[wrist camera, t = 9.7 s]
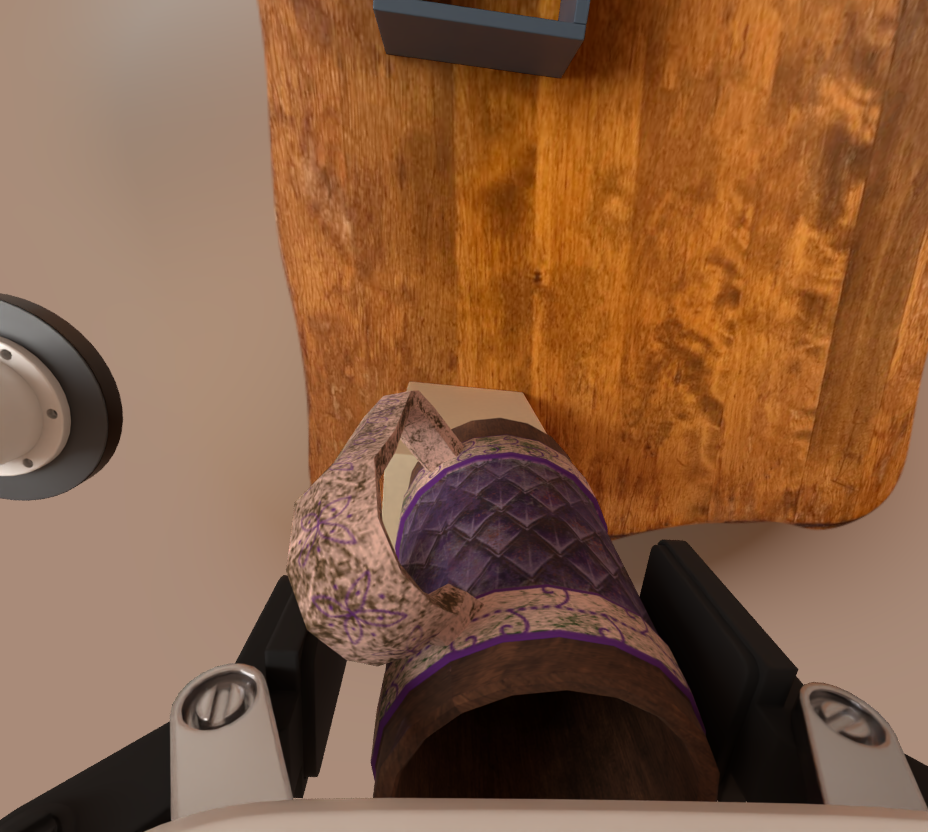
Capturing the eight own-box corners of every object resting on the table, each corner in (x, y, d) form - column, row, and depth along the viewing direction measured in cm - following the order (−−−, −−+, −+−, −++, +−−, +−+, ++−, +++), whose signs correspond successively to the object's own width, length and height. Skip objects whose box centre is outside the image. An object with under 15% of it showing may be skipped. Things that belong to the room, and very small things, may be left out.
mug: (607, 522, 19) (828, 886, 8) (461, 595, 20) (468, 1013, 9) (488, 306, 17) (559, 382, 5) (326, 402, 18) (84, 646, 6)
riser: (401, 485, 43) (376, 605, 28) (409, 381, 40) (385, 452, 25) (507, 493, 44) (539, 616, 28) (523, 392, 41) (567, 468, 25)
